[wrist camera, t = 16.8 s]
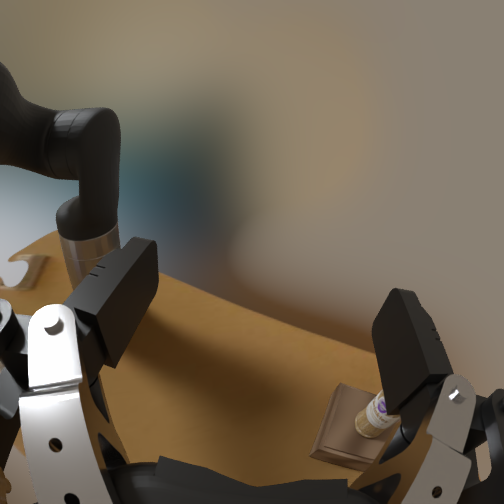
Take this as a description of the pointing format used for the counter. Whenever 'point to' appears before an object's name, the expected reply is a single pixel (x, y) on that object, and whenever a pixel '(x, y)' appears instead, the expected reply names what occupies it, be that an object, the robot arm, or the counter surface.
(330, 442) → the walnut plinth
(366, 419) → the sprinkles bottle
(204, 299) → the counter surface
